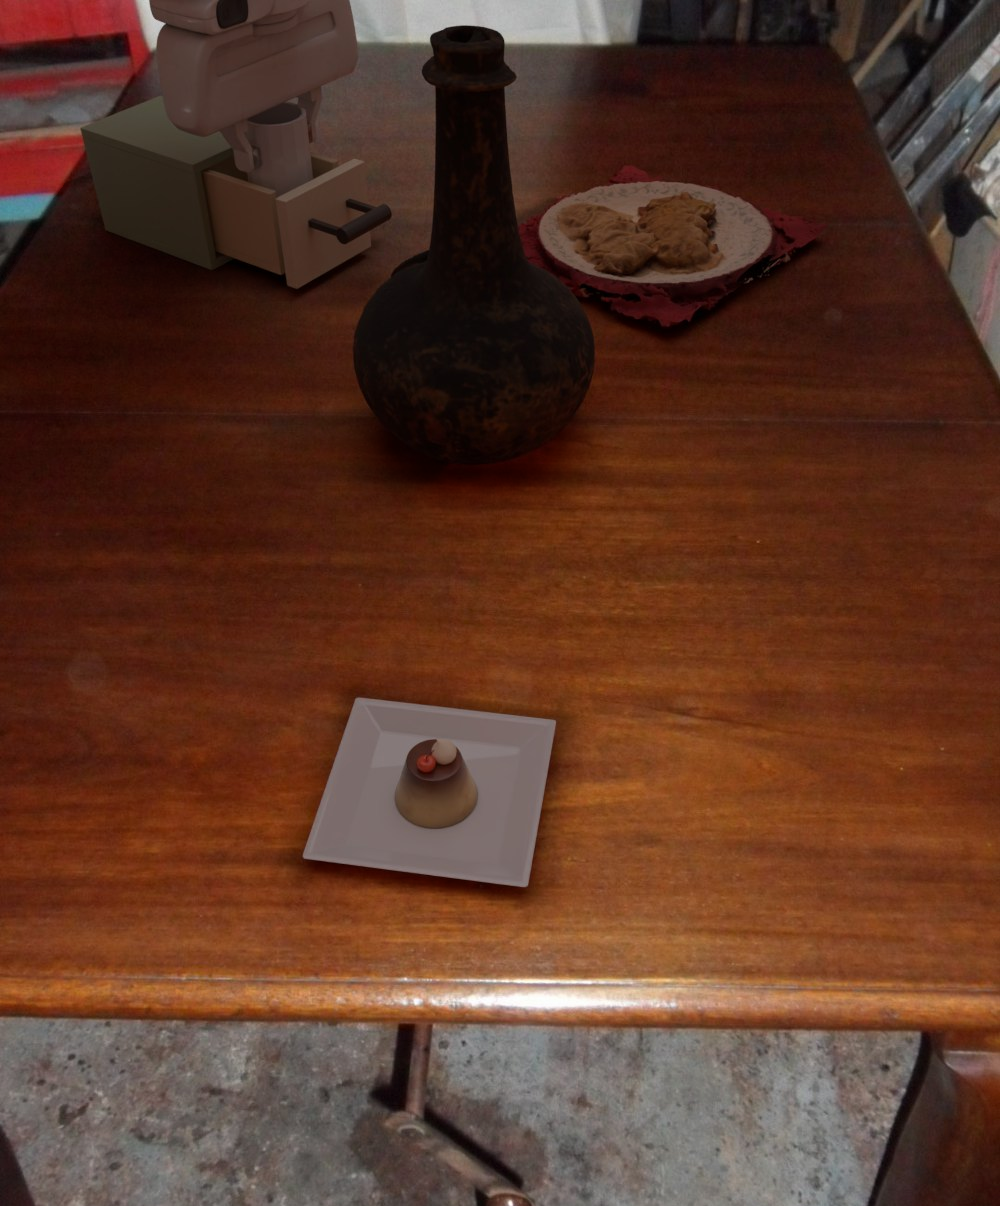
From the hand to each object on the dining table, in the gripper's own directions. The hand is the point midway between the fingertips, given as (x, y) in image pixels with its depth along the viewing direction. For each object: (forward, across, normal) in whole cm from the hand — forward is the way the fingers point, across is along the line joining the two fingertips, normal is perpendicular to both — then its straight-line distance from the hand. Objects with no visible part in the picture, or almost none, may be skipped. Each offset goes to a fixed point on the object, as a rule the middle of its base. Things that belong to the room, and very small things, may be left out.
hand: (277, 155), depth 105 cm
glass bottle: (+10, +13, +31) cm, 35 cm away
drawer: (+9, 0, +1) cm, 9 cm away
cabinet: (+10, 0, -12) cm, 15 cm away
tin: (+2, 0, 0) cm, 2 cm away
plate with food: (+10, -21, +26) cm, 35 cm away
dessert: (+10, +44, +51) cm, 68 cm away
